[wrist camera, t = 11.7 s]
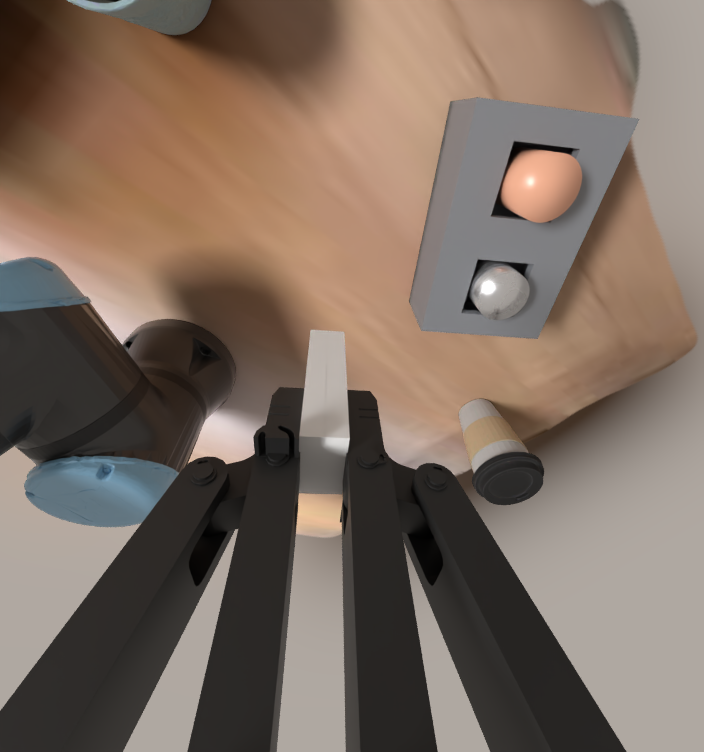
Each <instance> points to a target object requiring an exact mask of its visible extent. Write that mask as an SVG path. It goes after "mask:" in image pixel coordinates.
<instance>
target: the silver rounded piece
mask: <svg viewBox="0 0 704 752" xmlns="http://www.w3.org/2000/svg"><path fill="white" fill-rule="evenodd" d="M529 291H530V289H529V284H528V281H527V280H526V278H525V277H524V276H522V275H521V274H520V273H519V272H517V271H516V270H515V269H514V268H513V267H511V266H510V265H509V264H508V263H507V262H504V261H493V260H482V259H478V260H477V263H476V267H475V270H474V273H473V276H472V280H471V283H470V286H469V290H468V293H467V295H468V297H469V298H470V299H471V300H472V302H473V303H474V304H475V306H476V307H477V308H478V310H479V311H480V312H481V314H482V315H483V316H485V317H486V318H488V319H491V320H503V319H507V318H509V317H511V316H513V315H515V314H516V313H517V312H519V311H520V310H521V309H522V307H523V306H524V305H525V303H526V302H527V299H528V297H529Z"/></svg>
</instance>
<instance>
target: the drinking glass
mask: <svg viewBox="0 0 704 752" xmlns="http://www.w3.org/2000/svg"><path fill="white" fill-rule="evenodd" d="M67 1H69V2H71V3H73V4H76V5H78V6H80V7H82V8H85V9H88V10H92V11H95V12H99V13H102V14H106V15H110V16H112V17H116V18H121V19H123V20H125V21H128V22H131V23H134V24H138V25H140V26H143V27H146V28H149V29H152V30H154V31H157V32H160V33H163V34H168V35H181V34H185V33H188V32H189V31H191V30H193V29H195V28H196V27H197V26H198V25H199V24H200V23H201V22H202V20H203V19H204V17H205V16H206V14H207V12H208V10H209V7H210V4H211V0H67Z"/></svg>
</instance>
